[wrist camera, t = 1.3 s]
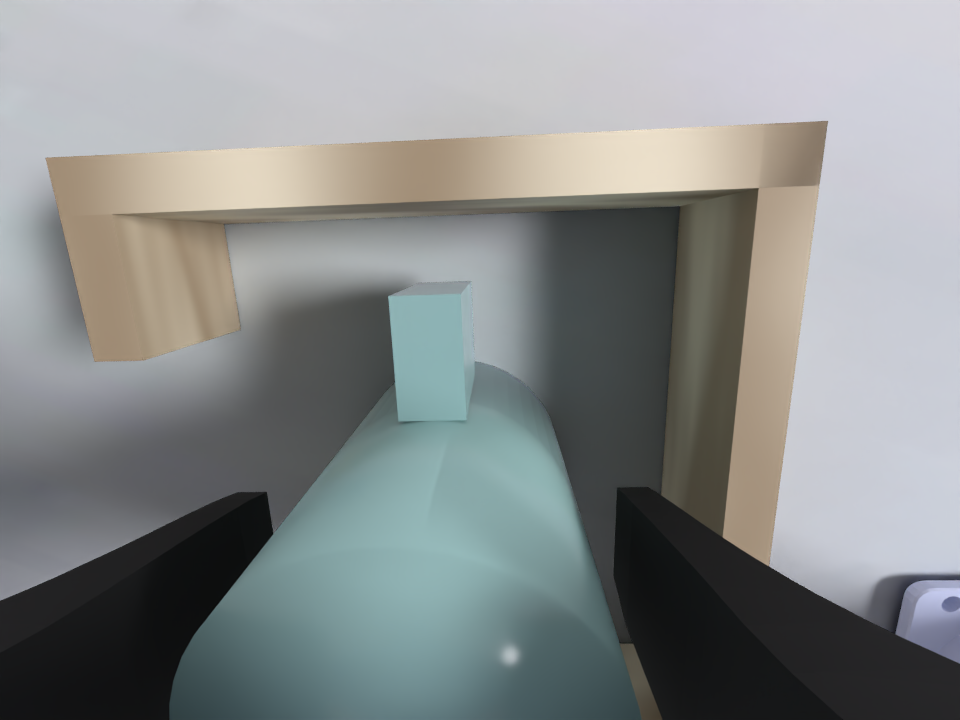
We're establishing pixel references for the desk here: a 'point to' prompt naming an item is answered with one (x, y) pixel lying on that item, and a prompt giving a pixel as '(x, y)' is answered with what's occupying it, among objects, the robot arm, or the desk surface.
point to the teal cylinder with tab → (422, 563)
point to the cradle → (487, 190)
